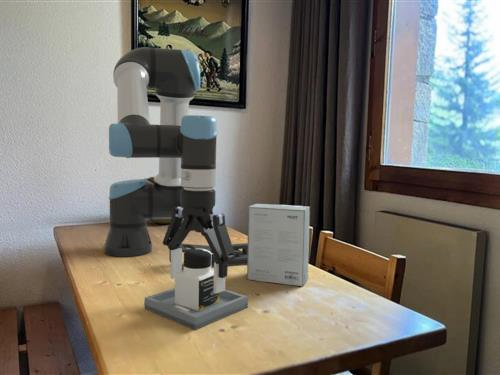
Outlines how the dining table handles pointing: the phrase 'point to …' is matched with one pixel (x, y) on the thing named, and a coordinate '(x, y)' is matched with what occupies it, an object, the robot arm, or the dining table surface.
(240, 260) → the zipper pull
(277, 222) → the hard drive box
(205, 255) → the medicine bottle
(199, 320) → the tray
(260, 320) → the dining table surface
